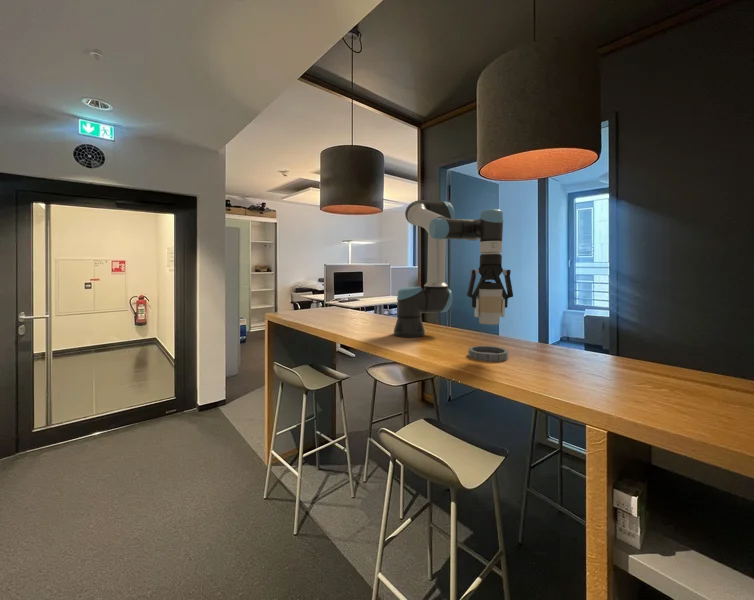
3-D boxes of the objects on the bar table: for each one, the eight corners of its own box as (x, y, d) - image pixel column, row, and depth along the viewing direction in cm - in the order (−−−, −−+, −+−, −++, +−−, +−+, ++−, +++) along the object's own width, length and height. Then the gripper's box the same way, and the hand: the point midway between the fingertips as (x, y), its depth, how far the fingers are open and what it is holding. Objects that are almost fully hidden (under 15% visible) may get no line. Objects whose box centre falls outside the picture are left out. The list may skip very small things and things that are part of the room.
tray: (465, 352, 135) (465, 345, 135) (501, 352, 134) (501, 346, 134) (473, 361, 121) (473, 354, 121) (513, 361, 121) (513, 354, 121)
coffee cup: (505, 325, 122) (507, 282, 121) (480, 325, 122) (480, 282, 121) (497, 321, 131) (498, 281, 130) (473, 321, 131) (474, 281, 130)
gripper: (462, 253, 121) (461, 317, 123) (525, 253, 120) (522, 318, 122) (458, 254, 129) (457, 315, 131) (517, 254, 128) (515, 315, 130)
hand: (489, 316), depth 127 cm, fingers closed on coffee cup, 8 cm apart
